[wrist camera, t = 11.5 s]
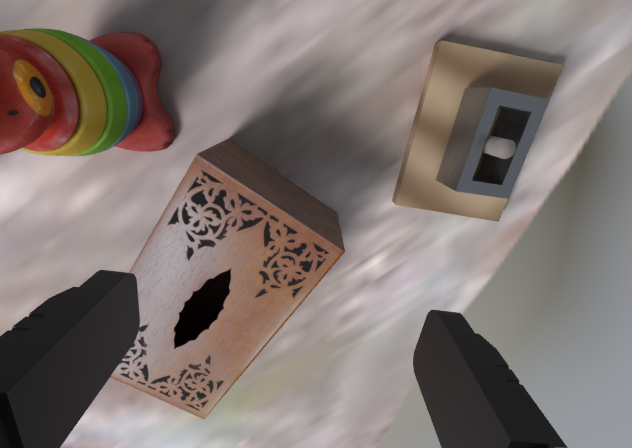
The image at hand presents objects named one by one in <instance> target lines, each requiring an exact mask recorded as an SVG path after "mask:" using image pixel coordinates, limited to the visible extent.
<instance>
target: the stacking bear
mask: <svg viewBox="0 0 632 448" xmlns="http://www.w3.org/2000/svg"><path fill="white" fill-rule="evenodd" d="M160 69H161V60H160V58H159V56H158V49H157V47H156V46H155V45H154V44H152V43H150V41H149V40H148V39H147V38H146V37H145V36H143V35H141V34H137V33H112V34H107V35H103V36H99V37H97V38H94V39H92V40H90V41H88V40H86V39H84V38H81V37H79V36H76V35H73V34H70V33H67V32H64V31H60V30H52V29H23V30H12V31H4V32H0V155H1V154H5V153H9V152H12V151H15V150H18V149H22V150H25V151H28V152H32V153H35V154H42V155H54V156H84V155H91V154H96V153H99V152H102V151H105V150H108V149H110V148H112V147H113V146H116V147H120V148H123V149H127V150H133V151H158V150H163V149H166V148H168V147H169V145H170V142H171V141H173V140H174V137H175V135H174V131H173V130H174V125H173V122H172V120H171V119H170V117H169V116H168V115H167V114H166V112H165V111H164V109H163V108H162V106H161V104H160V102H159V99H158V95H157V78H158V75H159V72H160Z"/></svg>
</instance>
